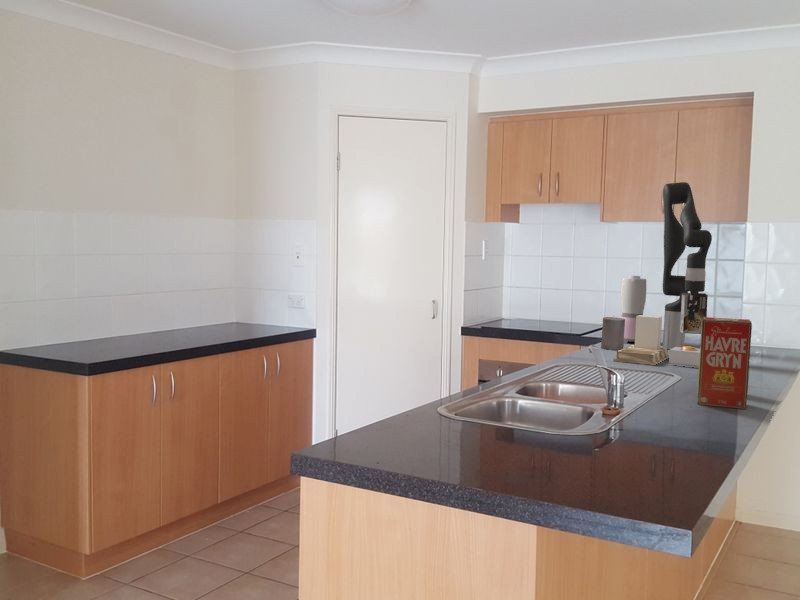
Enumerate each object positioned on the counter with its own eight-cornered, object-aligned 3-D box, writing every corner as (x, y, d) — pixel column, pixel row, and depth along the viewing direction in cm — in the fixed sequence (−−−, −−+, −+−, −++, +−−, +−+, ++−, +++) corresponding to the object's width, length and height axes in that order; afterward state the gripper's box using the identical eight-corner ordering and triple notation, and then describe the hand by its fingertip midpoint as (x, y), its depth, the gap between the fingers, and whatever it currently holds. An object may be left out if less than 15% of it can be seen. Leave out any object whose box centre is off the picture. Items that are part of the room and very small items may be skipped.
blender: (646, 344, 354) (650, 276, 351) (619, 343, 356) (622, 275, 353) (641, 340, 369) (645, 275, 367) (615, 339, 371) (619, 274, 369)
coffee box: (702, 332, 309) (705, 293, 308) (706, 334, 303) (708, 294, 302) (679, 331, 311) (681, 292, 309) (682, 333, 305) (684, 293, 303)
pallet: (631, 353, 321) (631, 344, 321) (670, 357, 313) (670, 348, 313) (613, 361, 298) (613, 351, 298) (654, 365, 290) (655, 355, 290)
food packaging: (696, 404, 218) (702, 318, 216) (696, 399, 226) (701, 316, 225) (747, 409, 213) (753, 321, 211) (744, 403, 222) (750, 319, 220)
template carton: (637, 353, 317) (639, 315, 316) (659, 355, 312) (662, 316, 311) (634, 354, 312) (636, 316, 311) (656, 356, 307) (658, 317, 306)
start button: (683, 358, 298) (683, 345, 297) (696, 359, 295) (696, 347, 295) (680, 359, 294) (681, 347, 293) (693, 361, 291) (694, 348, 291)
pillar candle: (596, 347, 339) (598, 314, 338) (615, 346, 342) (617, 314, 341) (609, 350, 330) (611, 316, 329) (628, 350, 333) (630, 316, 332)
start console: (675, 361, 303) (676, 346, 302) (707, 364, 297) (708, 349, 296) (668, 365, 293) (669, 349, 292) (701, 368, 286) (702, 352, 286)
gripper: (688, 278, 313) (686, 317, 315) (682, 279, 301) (679, 320, 302) (708, 279, 309) (705, 318, 311) (702, 280, 297) (699, 321, 298)
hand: (692, 319), depth 307 cm, fingers closed on coffee box, 8 cm apart
